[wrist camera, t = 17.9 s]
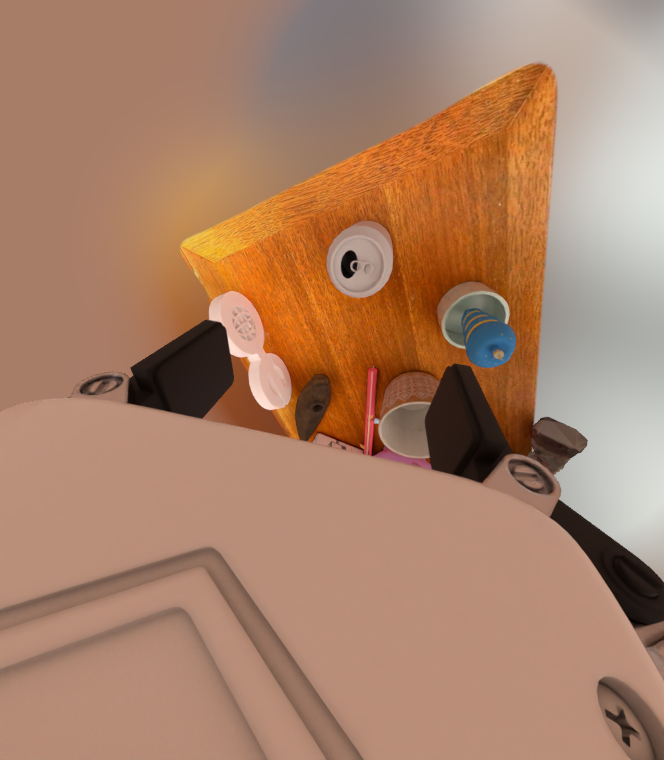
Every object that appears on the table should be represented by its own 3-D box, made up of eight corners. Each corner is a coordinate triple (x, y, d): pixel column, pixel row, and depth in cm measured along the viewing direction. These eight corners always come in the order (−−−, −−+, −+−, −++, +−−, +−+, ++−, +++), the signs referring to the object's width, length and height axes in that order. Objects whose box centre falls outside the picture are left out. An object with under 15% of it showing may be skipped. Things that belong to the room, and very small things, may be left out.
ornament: (453, 331, 41) (479, 386, 29) (443, 302, 38) (467, 349, 26) (489, 318, 38) (534, 371, 26) (481, 287, 36) (526, 329, 24)
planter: (369, 403, 53) (365, 441, 44) (399, 354, 45) (401, 389, 37) (425, 425, 53) (432, 467, 45) (463, 381, 46) (480, 421, 37)
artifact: (358, 392, 50) (306, 446, 60) (348, 374, 53) (300, 429, 63) (321, 386, 44) (270, 447, 54) (312, 366, 47) (265, 428, 57)
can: (344, 216, 35) (326, 221, 25) (398, 224, 34) (402, 233, 25) (337, 273, 39) (320, 296, 30) (385, 281, 39) (383, 307, 29)
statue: (529, 427, 45) (476, 527, 60) (582, 452, 40) (510, 554, 55) (544, 413, 49) (490, 509, 64) (593, 434, 44) (523, 534, 59)
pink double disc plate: (232, 288, 44) (196, 307, 36) (242, 284, 43) (208, 303, 35) (287, 388, 54) (269, 421, 46) (296, 386, 54) (279, 419, 46)
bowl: (447, 277, 37) (454, 286, 33) (507, 286, 36) (522, 296, 32) (429, 329, 42) (433, 343, 38) (481, 338, 41) (491, 353, 37)
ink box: (347, 484, 62) (302, 466, 62) (350, 466, 66) (308, 449, 65) (361, 467, 57) (312, 448, 56) (364, 449, 60) (318, 431, 60)
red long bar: (378, 461, 59) (358, 457, 60) (379, 453, 60) (360, 450, 61) (388, 373, 45) (361, 370, 46) (388, 367, 47) (363, 364, 48)
